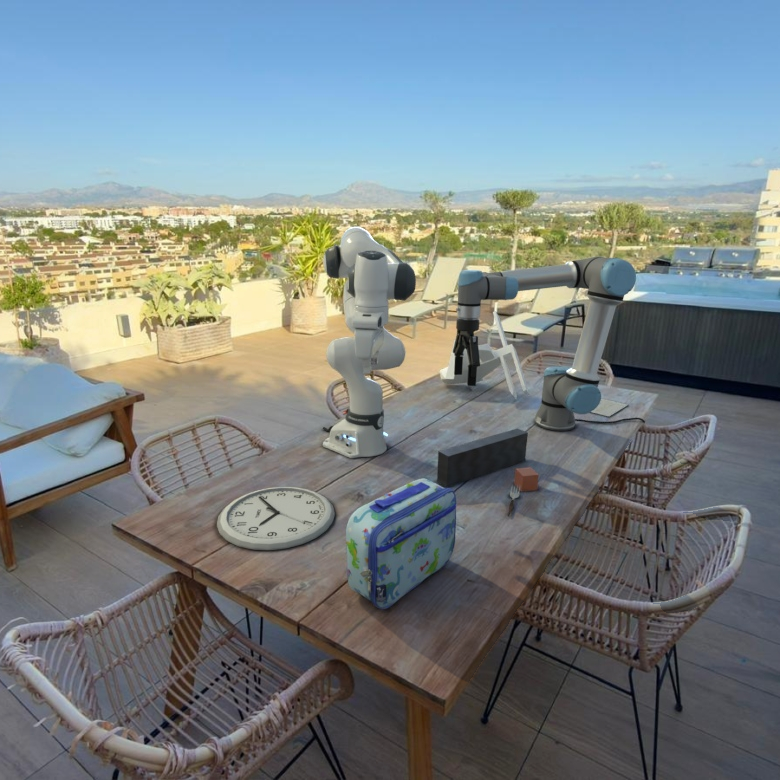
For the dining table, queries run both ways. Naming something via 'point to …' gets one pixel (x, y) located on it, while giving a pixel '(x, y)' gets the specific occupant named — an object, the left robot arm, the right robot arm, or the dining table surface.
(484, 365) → the white plastic object
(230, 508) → the wall clock
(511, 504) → the fork
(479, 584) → the dining table surface
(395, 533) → the lunch box
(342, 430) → the left robot arm
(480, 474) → the bar
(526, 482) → the terracotta block
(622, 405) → the invitation card
